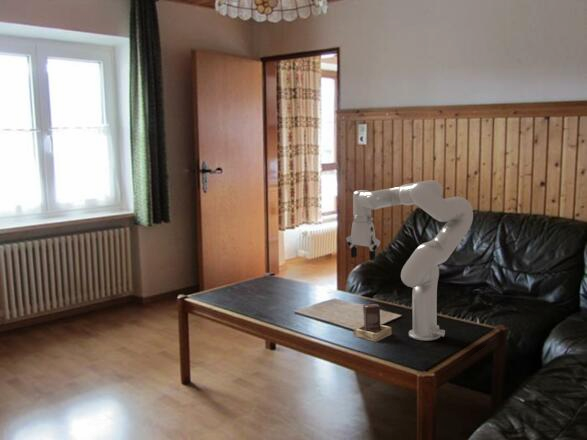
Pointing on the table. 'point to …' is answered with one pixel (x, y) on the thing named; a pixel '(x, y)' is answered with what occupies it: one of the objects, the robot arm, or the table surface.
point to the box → (371, 318)
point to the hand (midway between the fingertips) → (363, 258)
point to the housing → (372, 336)
